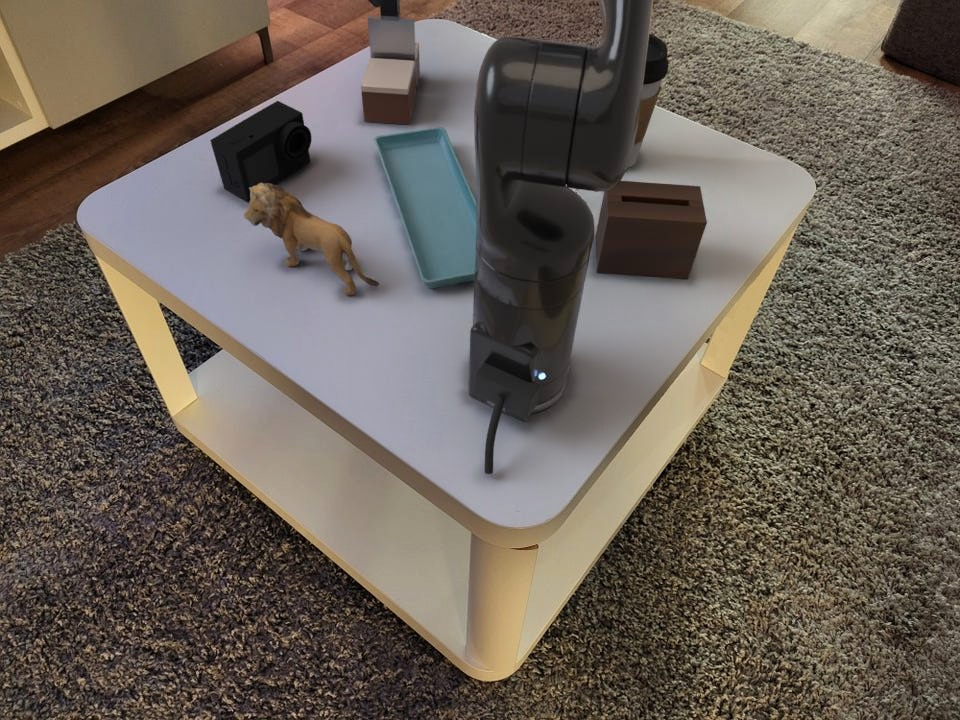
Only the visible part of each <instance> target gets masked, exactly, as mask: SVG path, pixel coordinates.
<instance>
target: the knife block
mask: <svg viewBox="0 0 960 720" xmlns="http://www.w3.org/2000/svg"><path fill="white" fill-rule="evenodd" d="M707 224H708V222H707V215H706V210H705V205H704V199H703V193H702V189H701V186H700V185H688V184H674V183H659V182H646V181H631V180H621V181H620V182H619V184H618V185H617V186H616V187H615V188H613V189H611V190H609V191H605V192H603V195H602V200H601V206H600V210H599V216H598V220H597V226H596V232H595V235H594V237H595V262H596V263H595V267H596V273H598V274H609V275H612V274H613V275H622V276H623V275H624V276H638V277H639V276H640V277H649V278H650V277H651V278H652V277H653V278H664V279H665V278H667V279H679V280H689V277H690V274H691V271H692V268H693V267H694V264H695V260H696V257H697V253H698V250H699V248H700V245H701V242H702V239H703V236H704V233H705V230H706V226H707Z"/></svg>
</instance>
